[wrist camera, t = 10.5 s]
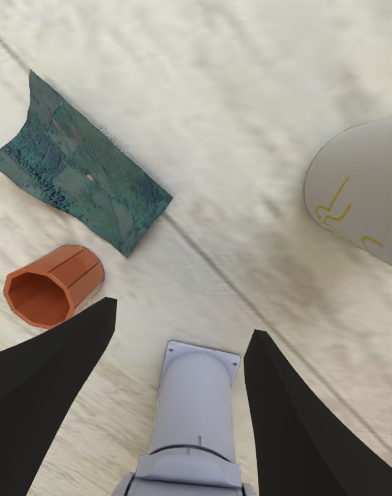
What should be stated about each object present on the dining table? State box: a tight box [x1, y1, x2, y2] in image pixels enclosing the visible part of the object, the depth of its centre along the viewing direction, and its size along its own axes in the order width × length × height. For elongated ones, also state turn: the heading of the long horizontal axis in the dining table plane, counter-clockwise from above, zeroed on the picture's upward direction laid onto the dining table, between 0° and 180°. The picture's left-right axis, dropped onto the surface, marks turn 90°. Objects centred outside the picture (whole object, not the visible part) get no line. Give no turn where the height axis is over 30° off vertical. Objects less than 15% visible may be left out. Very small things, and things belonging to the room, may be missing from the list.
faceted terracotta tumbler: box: [3, 245, 104, 330], centre depth 19 cm, size 5×6×5 cm
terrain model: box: [0, 69, 173, 258], centre depth 17 cm, size 13×8×2 cm, turn 49°
